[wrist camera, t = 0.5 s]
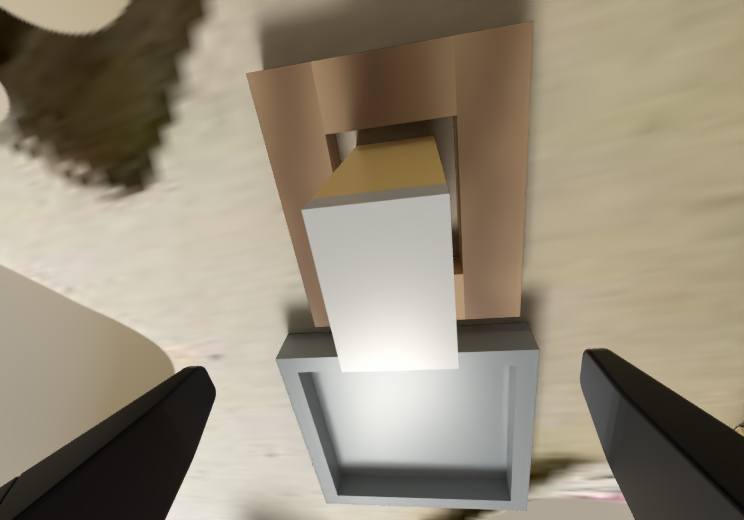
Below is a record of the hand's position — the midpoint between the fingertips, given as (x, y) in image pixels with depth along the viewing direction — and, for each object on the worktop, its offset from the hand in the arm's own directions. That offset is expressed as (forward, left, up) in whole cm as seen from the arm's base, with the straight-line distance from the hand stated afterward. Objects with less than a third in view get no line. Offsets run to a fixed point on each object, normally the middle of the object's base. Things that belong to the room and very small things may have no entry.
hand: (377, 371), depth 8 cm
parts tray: (+1, +17, -13) cm, 21 cm away
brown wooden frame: (0, 0, -13) cm, 13 cm away
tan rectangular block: (0, 0, -13) cm, 13 cm away
